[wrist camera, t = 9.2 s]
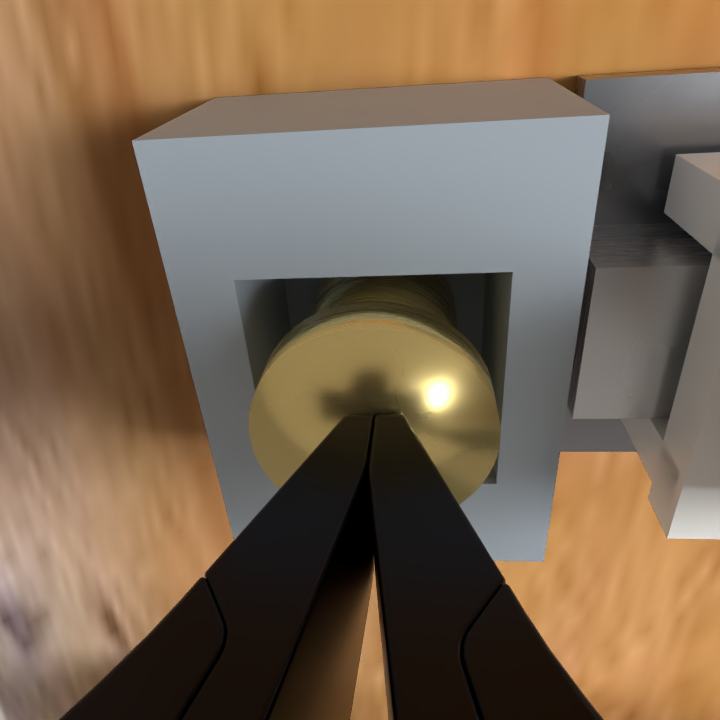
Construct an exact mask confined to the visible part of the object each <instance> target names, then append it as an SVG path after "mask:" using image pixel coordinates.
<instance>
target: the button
mask: <svg viewBox="0 0 720 720" xmlns="http://www.w3.org/2000/svg"><path fill="white" fill-rule="evenodd" d="M357 414H369V415H372V416H373V417H374V419H375V417H376V416H377V415H380V414H401V415H404V416H405V417H406V419H407V420H408V422H409V424H410V425H411V427H412V429H413V430H414V432H415V433H416V435H417V437H418V438H419V440H420V442H421V443H422V445H423V446H424V448H425V450H426V451H427V453H428V455H429V456H430V458H431V460H432V461H433V463H434V464H435V466H436V468H437V469H438V471H439V473H440V474H441V476H442V477H443V479H444V481H445V482H446V484H447V486H448V487H449V489H450V491H451V492H452V494H453V495H454V497H455V499H456V500H457V502H458V504H461V503H462V502H463V501H465V500H466V499H467V498H469V497H470V496H471V495H472V494H473V493H474V492H475V491H476V490H477V489H478V488H479V487H480V486H481V485H482V483H483V482H484V481H485V479H486V478H487V476H488V475H489V473H490V471H491V469H492V467H493V466H494V463H495V461H496V458H497V455H498V452H499V446H500V439H501V426H500V420H499V414H498V409H497V404H496V400H495V395H494V390H493V385H492V380H491V377H490V374H489V371H488V369H487V366H486V364H485V363H484V361H483V359H482V357H481V355H480V354H479V352H478V351H477V350H476V348H475V347H474V346H473V344H472V343H471V342H470V341H469V340H468V339H467V338H466V337H465V336H464V335H463V334H462V333H461V332H460V331H458V327H457V320H456V313H455V306H454V301H453V297H452V294H451V291H450V289H449V287H448V285H447V283H446V282H445V280H444V279H443V278H442V276H441V275H440V274H426V275H392V276H358V277H325V278H324V279H323V281H322V283H321V284H320V286H319V289H318V291H317V293H316V297H315V300H314V303H313V306H312V309H311V312H310V315H309V317H308V318H306V319H305V320H303V321H302V322H300V323H299V324H298V325H296V326H295V327H294V328H292V329H291V330H290V331H289V332H288V333H287V334H286V335H285V336H284V337H283V338H282V339H281V340H280V342H279V343H278V344H277V345H276V346H275V348H274V350H273V352H272V353H271V355H270V357H269V358H268V361H267V363H266V366H265V368H264V371H263V374H262V376H261V379H260V381H259V384H258V386H257V389H256V391H255V394H254V396H253V399H252V402H251V407H250V411H249V434H250V441H251V444H252V448H253V451H254V453H255V456H256V458H257V460H258V462H259V464H260V466H261V467H262V469H263V470H264V472H265V473H266V475H267V476H268V477H269V478H270V480H271V481H272V482H273V483H274V484H275V485H276V486H277V487H278V488H279V489H280V488H281V487H282V486H283V485H284V483H285V482H286V481H287V480H288V479H289V478H290V477H291V475H292V474H293V473H294V472H295V471H296V470H297V469H298V468H299V466H300V465H301V464H302V463H303V462H304V461H305V460H306V459H307V457H308V456H309V455H310V454H311V453H312V452H313V451H314V450H315V448H316V447H317V446H318V445H319V444H320V443H321V442H322V441H323V439H324V438H325V437H326V436H327V435H328V434H329V433H330V432H331V430H332V429H333V428H334V427H335V426H336V425H337V424H338V423H339V421H340V420H341V419H342V418H343V417H344V416H346V415H357Z"/></svg>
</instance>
